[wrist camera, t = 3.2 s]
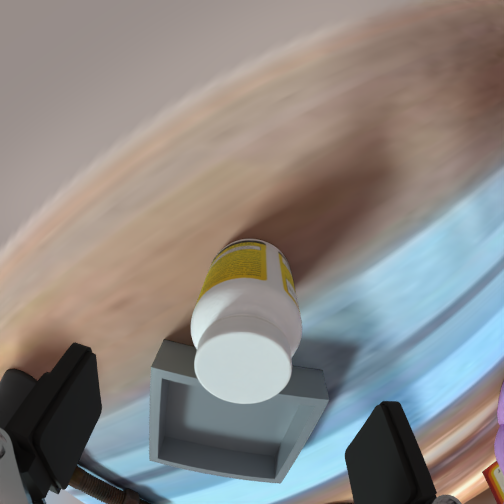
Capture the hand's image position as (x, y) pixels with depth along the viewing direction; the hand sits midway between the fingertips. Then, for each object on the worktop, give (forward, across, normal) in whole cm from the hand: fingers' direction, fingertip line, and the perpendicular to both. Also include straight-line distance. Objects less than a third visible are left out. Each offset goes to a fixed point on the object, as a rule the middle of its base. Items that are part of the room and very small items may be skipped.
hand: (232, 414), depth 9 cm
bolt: (+13, +12, +37) cm, 41 cm away
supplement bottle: (+13, 0, +1) cm, 13 cm away
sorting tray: (+12, -1, +14) cm, 19 cm away
